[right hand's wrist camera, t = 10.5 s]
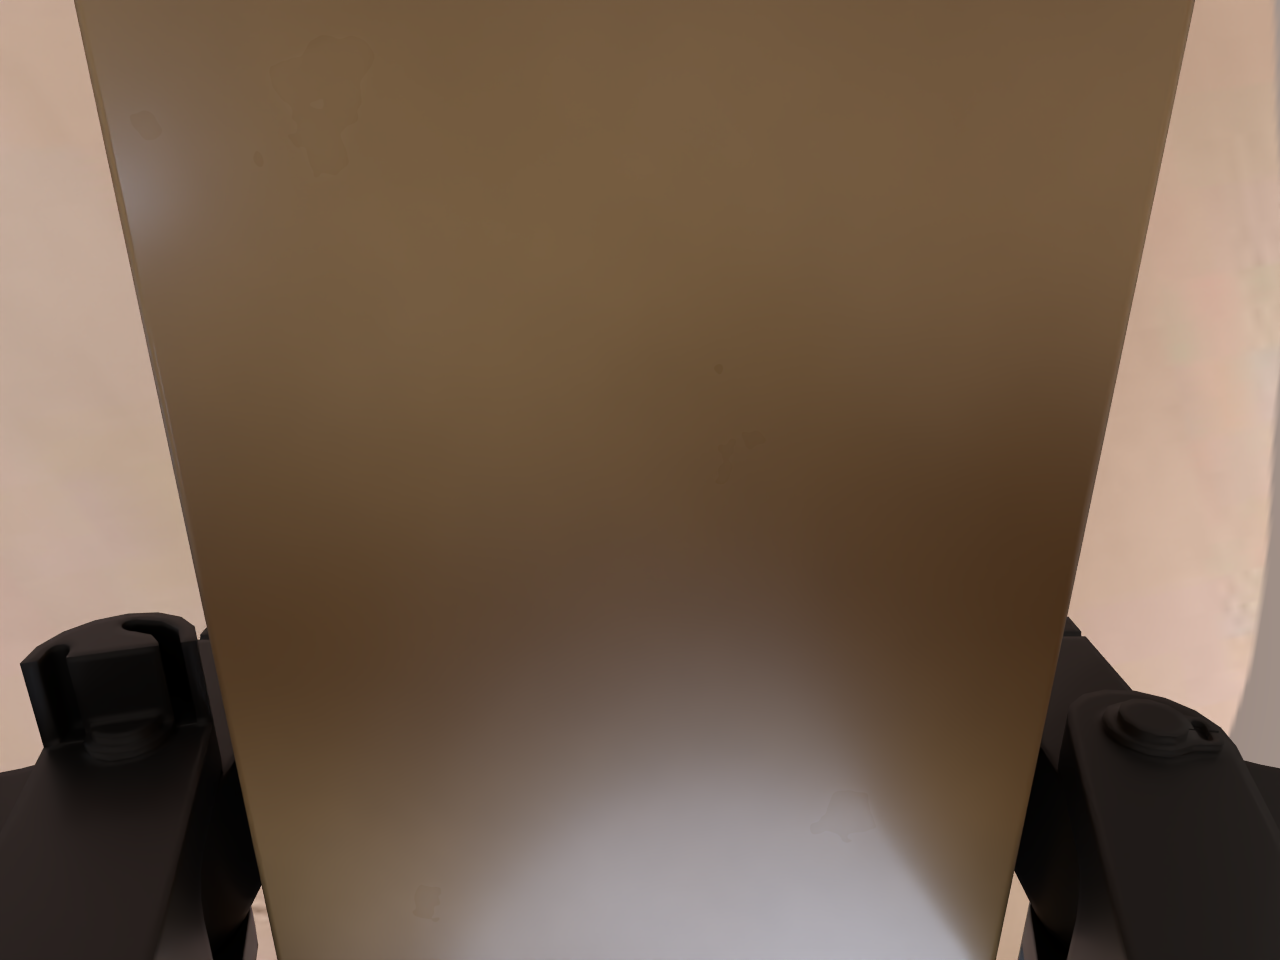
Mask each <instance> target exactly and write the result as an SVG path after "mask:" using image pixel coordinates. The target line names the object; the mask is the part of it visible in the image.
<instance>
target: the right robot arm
mask: <svg viewBox="0 0 1280 960" xmlns="http://www.w3.org/2000/svg"><path fill="white" fill-rule="evenodd" d="M20 666H21V669H22V673H23V676H24V680H25V683H26V687H27V690H28V694H29V697H30V701H31V704H32V708H33V711H34V715H35V718H36V722H37V725H38V729H39V732H40V736H41V739H42V743H43V746H44V748H43V750H42V752H41V754H40V756H39V758H38V760H37V762H36V764H35V765H33V766H29V767H25V768H22V769H16V770H11V771H6V772H1V773H0V960H256V957H257V949H258V941H257V934H256V927H255V922H254V917H253V912H252V907H251V905H252V903H253V901H254V899H255V897H256V895H257V893H258V891H259V889H260V887H261V885H262V884H261V879H260V875H259V870H258V865H257V861H256V856H255V851H254V846H253V842H252V837H251V832H250V828H249V823H248V818H247V813H246V809H245V804H244V799H243V795H242V790H241V785H240V780H239V776H238V771H237V766H236V762H235V757H234V752H233V747H232V743H231V738H230V733H229V729H228V724H227V719H226V714H225V710H224V705H223V700H222V696H221V691H220V686H219V681H218V677H217V672H216V667H215V663H214V658H213V653H212V648H211V644H210V639H209V634H208V630H207V628H206V629H205V630H204V631H203V632H202V633H201V635H200V640H197V636H196V631H195V626H193V625H192V624H190V623H189V622H188V621H186V620H185V619H183V618H182V617H179V616H174V615H169V614H163V613H158V612H157V613H132V614H124V615H119V616H114V617H109V618H104V619H99V620H95V621H92V622H89V623H86V624H84V625H81V626H78V627H75V628H72V629H70V630H67V631H64V632H62V633H60V634H59V635H57V636H55V637H53V638H52V639H50V640H48V641H46V642H44V643H43V644H41V645H39V646H37V647H36V648H35V649H34V650H33V651H32V652H31V653H30V654H29V655H28V656H27V657H26V658H25V659H24V660H23V661H22V662H21V663H20ZM1014 871H1015V873H1016V875H1017V877H1018V879H1019V881H1020V883H1021V885H1022V887H1023V889H1024V891H1025V893H1026V895H1027V897H1028V899H1029V901H1030V902H1029V907H1028V912H1027V917H1026V922H1025V927H1024V932H1023V937H1022V942H1021V947H1020V952H1019V956H1018V960H1280V768H1275V767H1270V766H1265V765H1260V764H1256V763H1252V762H1248V761H1244V760H1243V758H1242V756H1241V754H1240V752H1239V750H1238V749H1237V747H1236V745H1235V744H1234V743H1233V742H1232V740H1231V739H1230V738H1229V737H1228V736H1227V734H1226V733H1225V732H1224V731H1223V730H1222V728H1221V727H1219V726H1218V725H1216V724H1215V723H1213V722H1212V721H1210V720H1209V719H1207V718H1206V717H1204V716H1203V715H1201V714H1200V713H1198V712H1197V711H1195V710H1193V709H1190V708H1188V707H1185V706H1183V705H1181V704H1178V703H1176V702H1174V701H1171V700H1169V699H1166V698H1163V697H1159V696H1155V695H1150V694H1146V693H1142V692H1138V691H1133V690H1132V689H1131V688H1130V687H1129V686H1128V685H1127V684H1126V682H1125V681H1124V680H1123V679H1122V678H1121V677H1120V676H1119V674H1118V673H1117V672H1116V671H1115V670H1114V669H1113V667H1112V666H1111V665H1110V664H1109V663H1108V662H1107V661H1106V659H1105V658H1104V657H1103V656H1102V655H1101V654H1100V653H1099V651H1098V650H1097V649H1096V648H1095V647H1094V646H1093V645H1092V643H1091V642H1090V641H1089V640H1088V639H1087V638H1086V636H1081V631H1080V630H1079V628H1078V627H1077V626H1076V625H1075V624H1074V623H1073V622H1072V620H1071V619H1070V618H1069V617H1067V619H1066V623H1065V628H1064V633H1063V638H1062V643H1061V648H1060V652H1059V657H1058V662H1057V667H1056V672H1055V676H1054V681H1053V686H1052V691H1051V696H1050V700H1049V705H1048V710H1047V715H1046V720H1045V725H1044V729H1043V734H1042V739H1041V744H1040V749H1039V753H1038V758H1037V763H1036V768H1035V773H1034V777H1033V782H1032V787H1031V792H1030V797H1029V802H1028V806H1027V811H1026V816H1025V821H1024V826H1023V830H1022V835H1021V840H1020V845H1019V850H1018V855H1017V859H1016V864H1015V869H1014Z"/></svg>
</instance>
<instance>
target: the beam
mask: <svg viewBox="0 0 1280 960" xmlns="http://www.w3.org/2000/svg"><path fill="white" fill-rule="evenodd" d="M1194 2H1195V0H74V3H75V7H76V12H77V17H78V22H79V26H80V31H81V36H82V40H83V45H84V50H85V55H86V59H87V64H88V69H89V73H90V78H91V83H92V88H93V92H94V97H95V102H96V106H97V111H98V116H99V121H100V125H101V130H102V135H103V139H104V144H105V149H106V154H107V158H108V163H109V168H110V172H111V177H112V182H113V187H114V191H115V196H116V201H117V205H118V210H119V215H120V220H121V224H122V229H123V234H124V238H125V243H126V248H127V253H128V257H129V262H130V267H131V271H132V276H133V281H134V286H135V290H136V295H137V300H138V304H139V309H140V314H141V319H142V323H143V328H144V333H145V337H146V342H147V347H148V352H149V356H150V361H151V366H152V370H153V375H154V380H155V385H156V389H157V394H158V399H159V403H160V408H161V413H162V418H163V422H164V427H165V432H166V436H167V441H168V446H169V451H170V455H171V460H172V465H173V469H174V474H175V479H176V484H177V488H178V493H179V498H180V502H181V507H182V512H183V516H184V521H185V526H186V531H187V535H188V540H189V545H190V549H191V554H192V559H193V564H194V568H195V573H196V578H197V582H198V587H199V592H200V597H201V601H202V606H203V611H204V615H205V620H206V625H207V630H208V634H209V639H210V644H211V648H212V653H213V658H214V663H215V667H216V672H217V677H218V681H219V686H220V691H221V696H222V700H223V705H224V710H225V714H226V719H227V724H228V729H229V733H230V738H231V743H232V747H233V752H234V757H235V762H236V766H237V771H238V776H239V780H240V785H241V790H242V795H243V799H244V804H245V809H246V813H247V818H248V823H249V828H250V832H251V837H252V842H253V846H254V851H255V856H256V861H257V865H258V870H259V875H260V879H261V884H262V889H263V894H264V898H265V903H266V908H267V912H268V917H269V922H270V927H271V931H272V936H273V941H274V945H275V950H276V955H277V960H996V956H997V951H998V946H999V941H1000V936H1001V932H1002V927H1003V922H1004V917H1005V912H1006V907H1007V903H1008V898H1009V893H1010V888H1011V883H1012V879H1013V874H1014V869H1015V864H1016V859H1017V855H1018V850H1019V845H1020V840H1021V835H1022V830H1023V826H1024V821H1025V816H1026V811H1027V806H1028V802H1029V797H1030V792H1031V787H1032V782H1033V777H1034V773H1035V768H1036V763H1037V758H1038V753H1039V749H1040V744H1041V739H1042V734H1043V729H1044V725H1045V720H1046V715H1047V710H1048V705H1049V700H1050V696H1051V691H1052V686H1053V681H1054V676H1055V672H1056V667H1057V662H1058V657H1059V652H1060V648H1061V643H1062V638H1063V633H1064V628H1065V623H1066V619H1067V614H1068V609H1069V604H1070V599H1071V595H1072V590H1073V585H1074V580H1075V575H1076V570H1077V566H1078V561H1079V556H1080V551H1081V546H1082V542H1083V537H1084V532H1085V527H1086V522H1087V518H1088V513H1089V508H1090V503H1091V498H1092V493H1093V489H1094V484H1095V479H1096V474H1097V469H1098V465H1099V460H1100V455H1101V450H1102V445H1103V441H1104V436H1105V431H1106V426H1107V421H1108V416H1109V412H1110V407H1111V402H1112V397H1113V392H1114V388H1115V383H1116V378H1117V373H1118V368H1119V363H1120V359H1121V354H1122V349H1123V344H1124V339H1125V335H1126V330H1127V325H1128V320H1129V315H1130V311H1131V306H1132V301H1133V296H1134V291H1135V286H1136V282H1137V277H1138V272H1139V267H1140V262H1141V258H1142V253H1143V248H1144V243H1145V238H1146V234H1147V229H1148V224H1149V219H1150V214H1151V209H1152V205H1153V200H1154V195H1155V190H1156V185H1157V181H1158V176H1159V171H1160V166H1161V161H1162V156H1163V152H1164V147H1165V142H1166V137H1167V132H1168V128H1169V123H1170V118H1171V113H1172V108H1173V104H1174V99H1175V94H1176V89H1177V84H1178V79H1179V75H1180V70H1181V65H1182V60H1183V55H1184V51H1185V46H1186V41H1187V36H1188V31H1189V27H1190V22H1191V17H1192V12H1193V7H1194Z"/></svg>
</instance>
